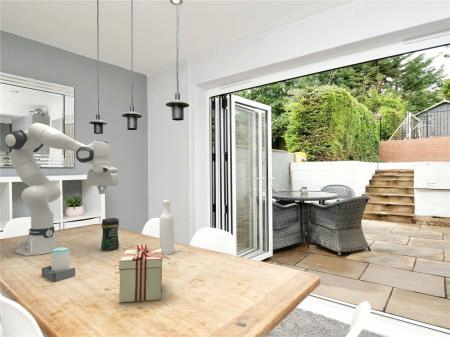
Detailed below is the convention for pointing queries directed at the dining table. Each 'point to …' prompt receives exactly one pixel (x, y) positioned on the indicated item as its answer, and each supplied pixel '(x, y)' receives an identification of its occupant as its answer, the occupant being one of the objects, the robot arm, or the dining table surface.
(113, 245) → the coffee jar
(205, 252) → the dining table surface
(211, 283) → the dining table surface
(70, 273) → the grey u-shaped bracket
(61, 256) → the can
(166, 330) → the dining table surface
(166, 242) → the bottle
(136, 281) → the gift box
